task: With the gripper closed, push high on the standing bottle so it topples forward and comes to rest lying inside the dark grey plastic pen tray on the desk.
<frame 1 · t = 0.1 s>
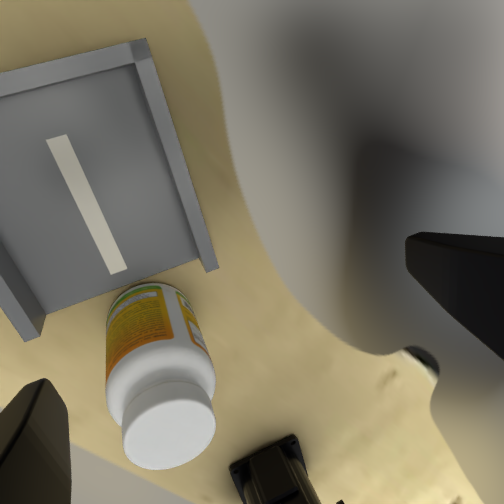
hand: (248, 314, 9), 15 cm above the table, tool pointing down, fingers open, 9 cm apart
tray: (82, 191, 20), on the table
supplement bottle: (150, 315, 25), on the table
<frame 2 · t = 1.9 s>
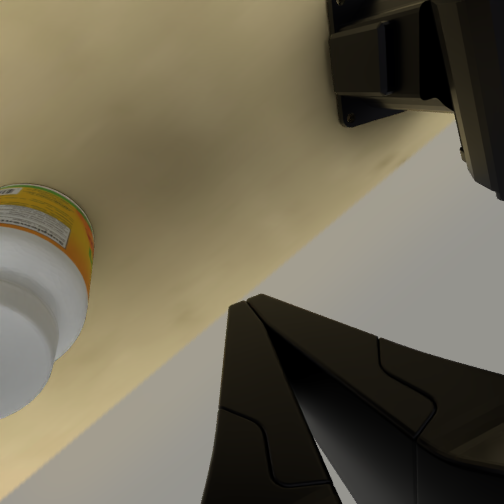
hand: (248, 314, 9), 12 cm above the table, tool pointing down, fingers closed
supplement bottle: (34, 235, 18), on the table
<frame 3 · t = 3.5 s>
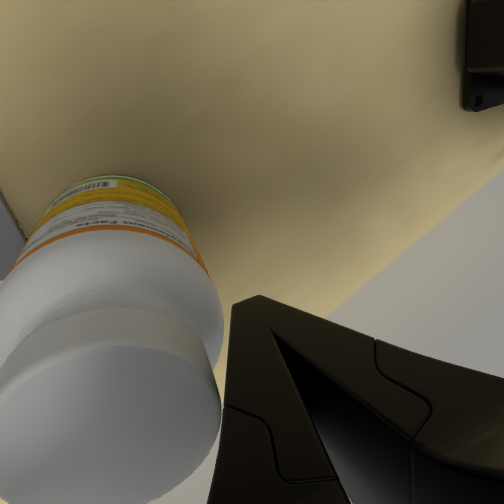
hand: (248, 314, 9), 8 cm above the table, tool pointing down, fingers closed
supplement bottle: (118, 238, 15), on the table, touching gripper
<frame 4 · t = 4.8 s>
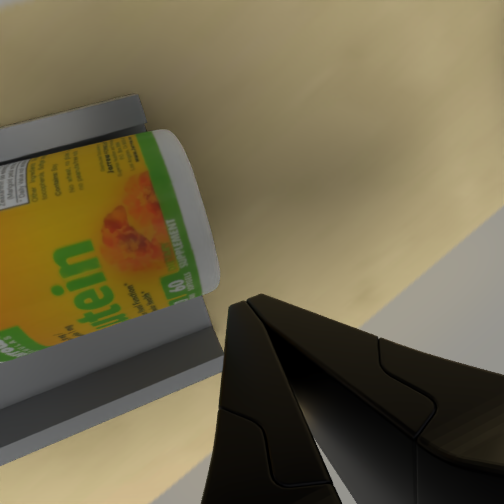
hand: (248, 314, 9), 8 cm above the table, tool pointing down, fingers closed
tray: (30, 284, 14), on the table
supplement bottle: (202, 208, 12), point 3 cm above the table, touching tray
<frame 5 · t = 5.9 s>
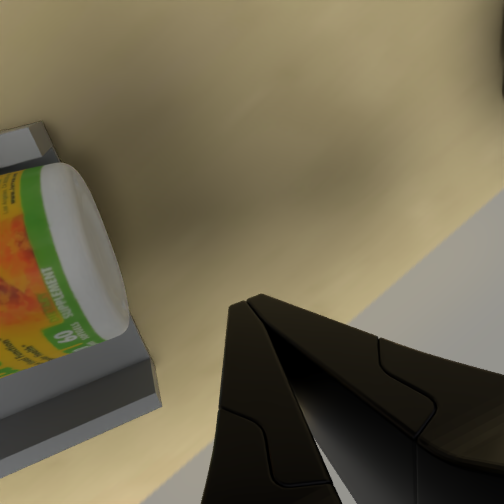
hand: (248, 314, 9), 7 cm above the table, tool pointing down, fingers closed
supplement bottle: (111, 244, 11), point 3 cm above the table, touching tray
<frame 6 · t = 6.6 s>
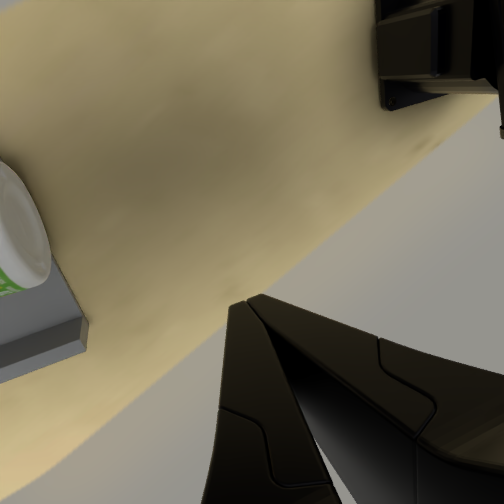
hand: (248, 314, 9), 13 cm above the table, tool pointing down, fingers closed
supplement bottle: (31, 219, 15), point 3 cm above the table, touching tray
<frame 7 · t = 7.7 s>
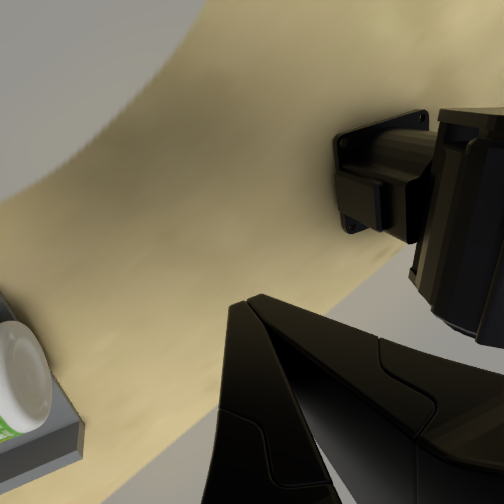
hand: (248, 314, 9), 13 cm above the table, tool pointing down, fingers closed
supplement bottle: (35, 369, 18), point 3 cm above the table, touching tray
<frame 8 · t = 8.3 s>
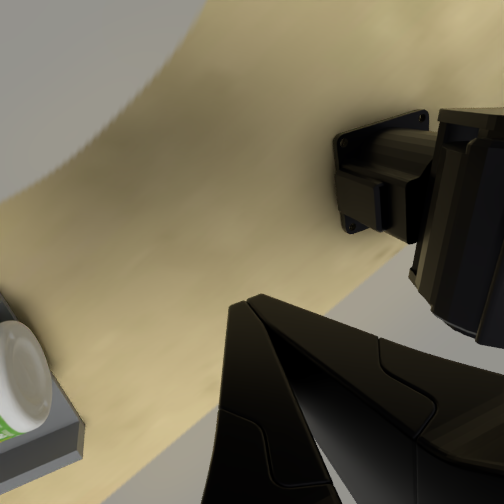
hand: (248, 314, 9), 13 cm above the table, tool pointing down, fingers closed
supplement bottle: (35, 368, 18), point 3 cm above the table, touching tray
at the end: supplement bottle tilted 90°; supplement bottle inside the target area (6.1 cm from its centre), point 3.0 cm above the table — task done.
